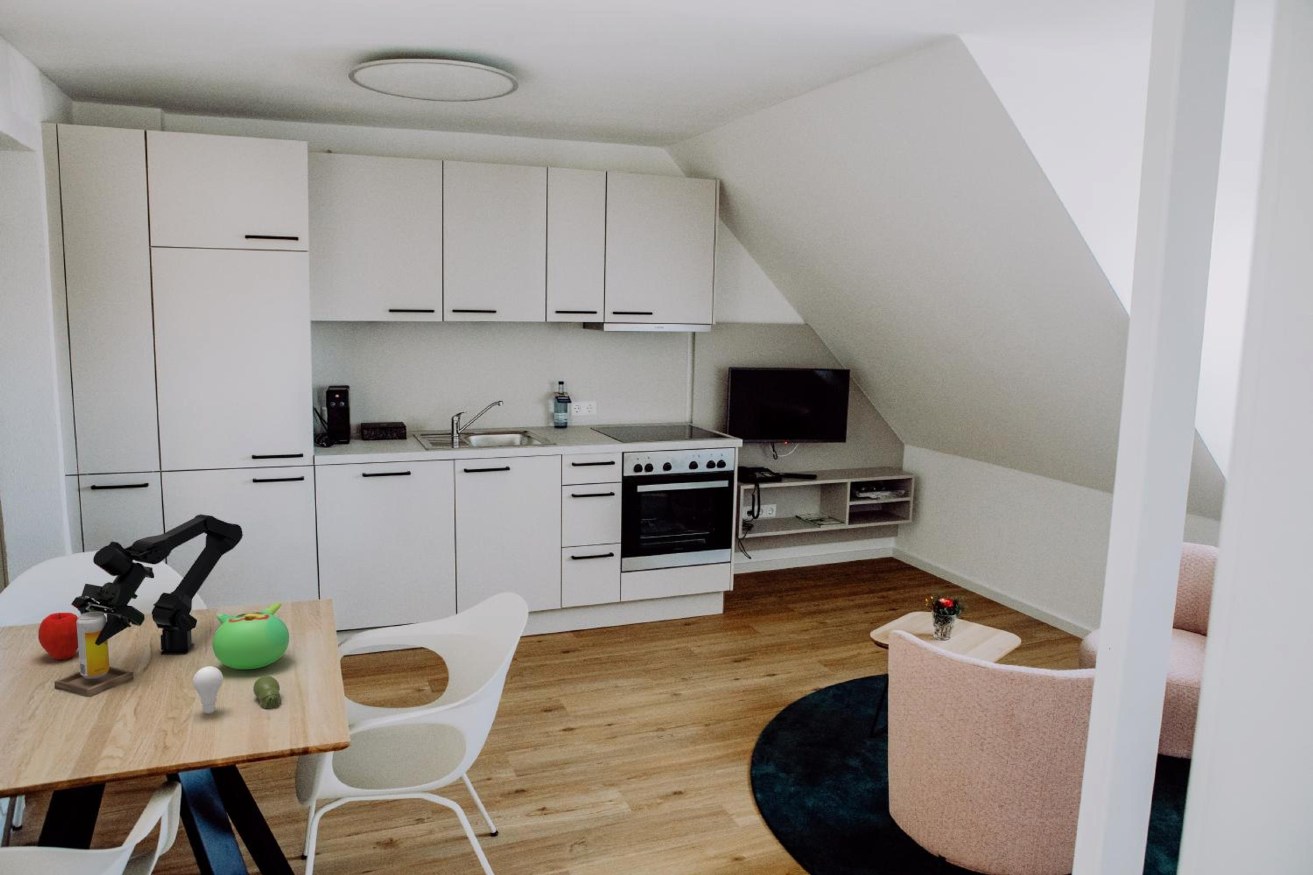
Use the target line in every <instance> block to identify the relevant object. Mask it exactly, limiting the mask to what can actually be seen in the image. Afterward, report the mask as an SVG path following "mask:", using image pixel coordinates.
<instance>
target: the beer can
mask: <svg viewBox="0 0 1313 875" xmlns="http://www.w3.org/2000/svg"><path fill="white" fill-rule="evenodd" d="M77 617H78V620H77V635H78V649H77V650H78V660H79V672H80V674H81V675H82V676H83V677H84V678H88V679H92V678H98V677H102V676H104V675H106V674H107V672H108V671H109V669H110V667H111V666H110V656H109V639H108V640H106V641H105V642H103V643H102V644H100V645H96V644H95V642H96V640H97V638H98V636H99V634H100V633H101V631H102V629H103V627H104V626H105V624H106V622H107V616H106V614H104V613H103V612H88V613H84V614H81V613H80V614H79V615H78V616H77Z"/></svg>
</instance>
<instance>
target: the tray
mask: <svg viewBox="0 0 1313 875" xmlns="http://www.w3.org/2000/svg"><path fill="white" fill-rule="evenodd" d="M109 667H110V669H109V671H108V672H107V674H106V675H104V676H102V677H98V678H92V679H88V678H84V677H83V676H82V675H81V674H80V671H77V672H75V673H73V674H70V675H66V676H64V677H62V678H59V679H57V680H54V682H53V683H54V684H53V685H54V689H56V690H60V691H63V692H67V693H71V694H75V695H79V696H83V697H86V698H87V697H88V698H90V697H93V696H96V695H98V694H101V693H103V692H105V691H108V690H110V689H113V688H115V687H117V686H119V685H120V686H121V685H123V684H125V683H127V682H129V681H132V680H134V672H133V671H130V670H125V669H121V668H117V667H112V666H109Z"/></svg>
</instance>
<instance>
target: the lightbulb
mask: <svg viewBox="0 0 1313 875" xmlns="http://www.w3.org/2000/svg"><path fill="white" fill-rule="evenodd" d="M223 680H224V676H223V674H222V671H221V670H220V669H218V668H217V667H215V666H211V665H210V666H203V667H202V668H200V669H199V670H197V671H196V673H195V674H194V676H193V680H192V685H193V688H194V690H195V692H197V693H198V696H199V698H200V703H201V704H202V712H203V713H205V714H207V715H209V714H212V713H213V712H215V711H216V702H217V696H218V693H219V690H220V689H221V687H222V685H223V682H224V681H223Z"/></svg>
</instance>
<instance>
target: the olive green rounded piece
mask: <svg viewBox="0 0 1313 875" xmlns="http://www.w3.org/2000/svg"><path fill="white" fill-rule="evenodd" d="M252 689H253V694H254V695H255V697H256V698H258V699H259V701H260V702H259V706H260V707H261V708H263V709H265V708H266V709H271V708H270V707H272V708H276V707H275V706H277V707H279V706H281V703H282V699H281V693H280V683H279V682H278V680H277V679H276V678H275V677H273V676H271V675H263V676H260V677H259V678H257V679H256V680H255V681H254V684H253V687H252Z"/></svg>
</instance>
